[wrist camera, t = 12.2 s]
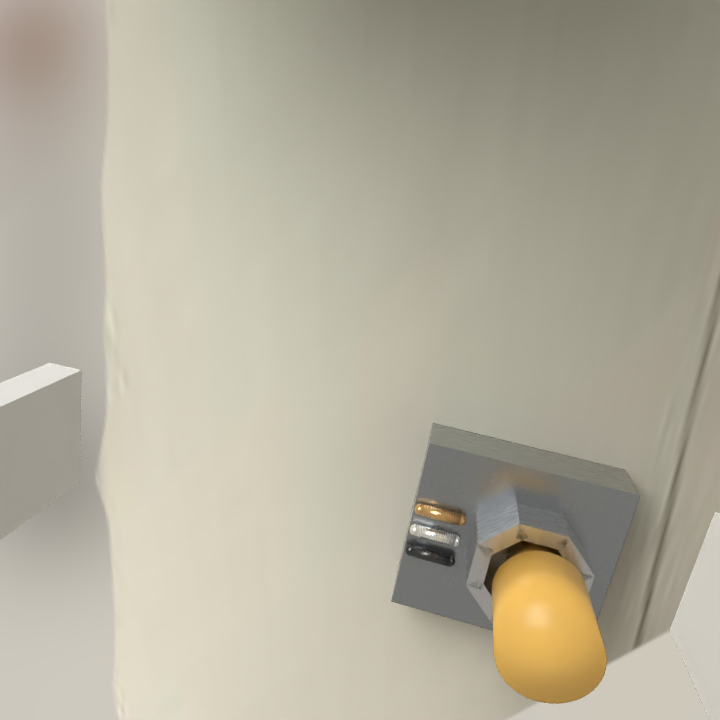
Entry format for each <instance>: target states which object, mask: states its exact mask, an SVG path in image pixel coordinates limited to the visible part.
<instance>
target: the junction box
mask: <svg viewBox="0 0 720 720" xmlns="http://www.w3.org/2000/svg"><path fill="white" fill-rule="evenodd" d="M639 498H640V494H639V493H638V491H637V489H636V488H635V486H634V484H633V483H632V481H631V479H630V478H629V476H628V474H627V473H626V471H625V470H623V469H619V468H614V467H610V466H606V465H602V464H598V463H594V462H590V461H586V460H582V459H578V458H574V457H569V456H565V455H561V454H557V453H553V452H549V451H545V450H541V449H537V448H533V447H529V446H525V445H520V444H516V443H512V442H508V441H504V440H500V439H496V438H492V437H488V436H484V435H480V434H476V433H471V432H467V431H463V430H459V429H455V428H451V427H447V426H443V425H439V424H435V423H433V426H432V430H431V434H430V438H429V442H428V447H427V451H426V455H425V459H424V463H423V467H422V472H421V476H420V480H419V484H418V488H417V493H416V497H415V501H414V505H413V509H412V513H411V518H410V522H409V526H408V530H407V534H406V538H405V543H404V547H403V551H402V555H401V559H400V564H399V568H398V572H397V577H396V582H395V586H394V591H393V596H392V602H395V603H399V604H402V605H406V606H409V607H413V608H416V609H420V610H423V611H427V612H430V613H434V614H437V615H441V616H444V617H448V618H451V619H455V620H458V621H462V622H465V623H469V624H472V625H476V626H479V627H483V628H486V629H490V630H493V611H492V582H493V578H494V576H495V574H496V572H497V570H498V569H499V567H500V566H501V565H502V564H503V563H504V562H505V561H507V560H508V555H509V552H510V550H511V549H512V547H513V546H514V545H515V544H517V543H518V542H520V541H522V540H523V541H527V542H531V543H535V544H538V545H542V546H546V547H550V548H553V549H556V551H557V552H558V554H559V556H561V557H563V558H565V559H566V560H568V561H569V562H570V563H572V564H573V565H574V566H575V567H576V568H577V569H578V570H579V572H580V573H581V575H582V576H583V578H584V581H585V583H586V586H587V590H588V593H589V597H590V600H591V603H592V607H593V610H594V614H595V617H596V620H597V618H598V615H599V612H600V609H601V606H602V603H603V601H604V598H605V595H606V592H607V589H608V586H609V583H610V581H611V578H612V575H613V572H614V569H615V566H616V563H617V561H618V558H619V555H620V552H621V549H622V546H623V544H624V541H625V538H626V535H627V532H628V529H629V526H630V524H631V521H632V518H633V515H634V512H635V509H636V507H637V504H638V501H639Z"/></svg>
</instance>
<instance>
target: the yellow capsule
mask: <svg viewBox="0 0 720 720" xmlns="http://www.w3.org/2000/svg"><path fill="white" fill-rule="evenodd" d="M492 611H493V637H494V657H495V663H496V666H497V669H498V671H499V673H500V675H501V676H502V678H503V679H504V680H505V682H506V683H507V684H508V685H509V686H510V687H511V688H513V689H514V690H515V691H516V692H518V693H520V694H521V695H523V696H525V697H527V698H529V699H532V700H535V701H539V702H544V703H566V702H571V701H575V700H578V699H580V698H582V697H584V696H586V695H587V694H589V693H590V692H592V691H593V690H594V689H595V688H596V687H597V686H598V685H599V683H600V682H601V680H602V678H603V676H604V674H605V670H606V664H607V658H606V652H605V648H604V644H603V641H602V637H601V634H600V631H599V627H598V624H597V620H596V617H595V614H594V610H593V607H592V603H591V600H590V597H589V593H588V590H587V586H586V583H585V581H584V578H583V576H582V575H581V573H580V572H579V570H578V569H577V568H576V567H575V566H574V565H573V564H572V563H570V562H569V561H568V560H566V559H565V558H563V557H561V556H559V554H558V552H557V551H556V549H553V548H550V547H546V546H542V545H538V544H535V543H531V542H527V541H523V540H522V541H520V542H518V543H517V544H515V545H514V546H513V547H512V549H511V550H510V552H509V555H508V560H507V561H505V562H504V563H503V564H502V565H501V566H500V567H499V569H498V570H497V572H496V574H495V576H494V578H493V582H492Z"/></svg>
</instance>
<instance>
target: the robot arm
mask: <svg viewBox="0 0 720 720" xmlns="http://www.w3.org/2000/svg"><path fill="white" fill-rule="evenodd" d="M81 375H82V370H79V369H75V368H70V367H66V366H61V365H57V364H52V363H48V364H46V365H43V366H41V367H38V368H36V369H34V370H31V371H29V372H26V373H24V374H21V375H19V376H16V377H14V378H11V379H9V380H6V381H4V382H1V383H0V540H1V539H2V538H4V537H5V536H6V535H8V534H9V533H10V532H12V531H13V530H15V529H16V528H17V527H19V526H20V525H21V524H23V523H24V522H25V521H27V520H28V519H30V518H31V517H32V516H34V515H35V514H36V513H38V512H39V511H40V510H42V509H43V508H45V507H46V506H47V505H49V504H50V503H51V502H53V501H54V500H56V499H57V498H58V497H60V496H61V495H62V494H64V493H65V492H66V491H68V490H69V489H70V488H72V487H73V486H75V485H76V484H77V483H79V482H80V430H81ZM670 632H671V634H672V636H673V639H674V641H675V643H676V646H677V648H678V650H679V652H680V655H681V657H682V659H683V661H684V664H685V666H686V668H687V670H688V673H689V675H690V677H691V679H692V682H693V684H694V686H695V688H696V690H697V693H698V695H699V697H700V700H701V702H702V704H703V706H704V709H705V711H706V713H707V715H708V718H709V720H720V513H717V512H715V513H714V516H713V518H712V521H711V524H710V526H709V529H708V531H707V534H706V537H705V539H704V542H703V544H702V547H701V550H700V552H699V555H698V557H697V560H696V563H695V565H694V568H693V570H692V573H691V576H690V578H689V581H688V584H687V586H686V589H685V591H684V594H683V597H682V599H681V602H680V604H679V607H678V610H677V612H676V615H675V617H674V620H673V623H672V625H671V628H670Z"/></svg>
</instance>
